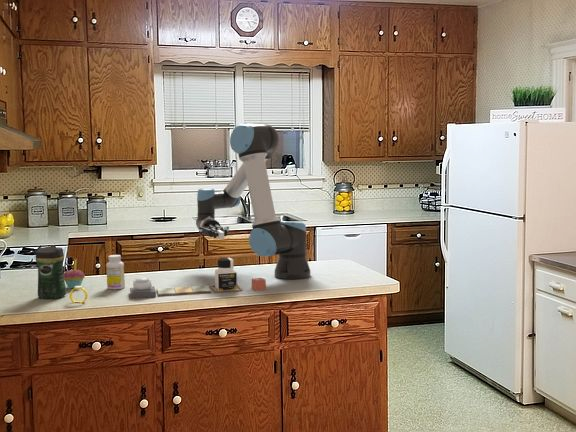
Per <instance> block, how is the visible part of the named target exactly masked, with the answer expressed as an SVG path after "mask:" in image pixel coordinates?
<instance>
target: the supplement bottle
mask: <svg viewBox="0 0 576 432" xmlns="http://www.w3.org/2000/svg"><path fill="white" fill-rule="evenodd" d="M107 257H108V262H107V263H106V264H105V267H106V285H107V287H106V288H107V289H108V290H111V289H114V290H113V291H115V290H116V289H118V290H121V289H124V288H125V285H126V284H125V264H124V262H123V261H122V260H121V259H122V257H121V254H110V255H108V256H107Z"/></svg>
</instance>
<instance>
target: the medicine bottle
mask: <svg viewBox="0 0 576 432" xmlns="http://www.w3.org/2000/svg"><path fill="white" fill-rule="evenodd" d="M234 268H235V267H234V259H233V258H231V257H221V258H219V259H217V269H214V278H215V279H214V281H215V283H214V284H215V285H214V286H215V287H214V288H215V289H217V290H216V291H229V290H238V287H237V284H238V282H237V281H238V277H237V275H238V274H237V273H238V272H237V271H236V270H235V269H234Z"/></svg>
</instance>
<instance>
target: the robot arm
mask: <svg viewBox="0 0 576 432" xmlns="http://www.w3.org/2000/svg"><path fill="white" fill-rule="evenodd" d="M229 145H230V149H231V150H232V151H233V152H234V153H236V154H237V156H238V159H239V161H241V162H242V164H241V165H240V166H239V168H238V169H237V171H236V172H235V174H234V175H233V176H232V178H231V179H230V181H229V182H228V183H227V185H226V186H225V188H224V189H223V190H222V191H215V189H214V188H209V187H207V188H205V187H204V188H199V189H198V190H197V193H196V194H197V195H196V197H197V198H196V202H197V203H196V204H197V215H196V217H197V218H196V219H195V224H196V228H197V229H198V233H199V234H202V235H205V236H206V237H209V238H213V239H217V238H218V239H219V240H225V237H227V236H228V234H229V232H230V227H229V226H224V227H223V226H222V225H221V224H220V222H219V221H217V220H216V219H215V215H216V213H215V211H216V210H218V209H230V208H235V207H239V205H240V204H241V200H242V197H241V195H242V194H243V193H244V191H245V190H246V189H247V187H248V193H249V197H250V201H251V202H250V204H251V207H252V212H253V218H254V220H253V221H254V222H253V223H252V225H251V227H252V228H251V229H252V230H251V231H250V233H249V235H248V244H249V246H250V249H251V250H252V251H253V253H254V254H255V255H257V256H259V257H272V256H276V255H278V259H277V262H276V265H275V268H274V277H275V278H278V279H283V280H301V279H307V278H310V277H311V269H310V265H309V262H308V259H307V226H306V225H307V224H305V223H304V222H302V221H301V222H300V221H292V220H291V221H287V220H281V219H279V218H278V217H277V216H276V211H275V206H274V201H273V196H272V190H271V186H270V185H271V184H270V180H269V175H268V170H267V165H266V162H267V161H268V160H271V159H272V157H274V155H275V153H276V152H277V150H278V149H279V145H280V136H279V133H278V131H277V129H275V127H274V126H272V125H270V124H267V123H259V124H258V123H242V124H238V125H237V126H234V128H233V130H232V132H231V133H230V136H229Z"/></svg>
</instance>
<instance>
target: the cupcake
mask: <svg viewBox="0 0 576 432" xmlns="http://www.w3.org/2000/svg"><path fill="white" fill-rule="evenodd" d="M77 261H78V260H77V259H74V266H73V267H74V269H68V270H67V271H63V274H64V281H65V285H66V288H68V289H69V288H74V287H75V286H82V283H83V281H84V279H85V277H86V276H85V273H84V272H83V271H82V270H80V269H77Z"/></svg>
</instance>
